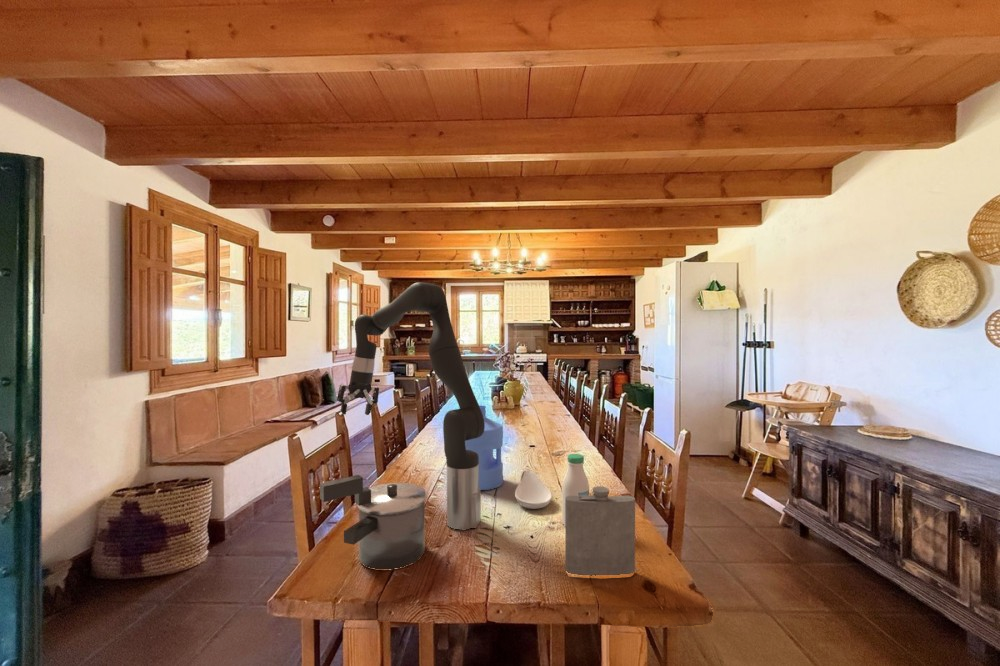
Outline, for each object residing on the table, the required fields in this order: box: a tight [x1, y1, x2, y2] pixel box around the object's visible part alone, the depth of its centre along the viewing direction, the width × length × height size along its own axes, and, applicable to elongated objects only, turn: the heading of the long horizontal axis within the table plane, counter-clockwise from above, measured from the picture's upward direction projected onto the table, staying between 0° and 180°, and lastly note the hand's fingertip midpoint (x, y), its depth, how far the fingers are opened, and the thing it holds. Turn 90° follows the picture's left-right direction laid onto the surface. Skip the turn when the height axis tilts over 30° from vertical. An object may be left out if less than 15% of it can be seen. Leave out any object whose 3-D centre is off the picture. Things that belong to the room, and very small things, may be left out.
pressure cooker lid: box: [319, 474, 427, 515], centre depth 106 cm, size 25×17×8 cm, turn 129°
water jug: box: [465, 405, 504, 491], centre depth 157 cm, size 16×16×28 cm
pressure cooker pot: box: [343, 502, 426, 569], centre depth 105 cm, size 24×16×13 cm, turn 159°
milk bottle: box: [561, 453, 590, 526], centre depth 124 cm, size 8×8×20 cm
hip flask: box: [564, 486, 636, 576], centre depth 99 cm, size 16×4×20 cm, turn 90°
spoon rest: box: [514, 470, 553, 510], centre depth 144 cm, size 24×12×7 cm, turn 5°
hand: (355, 414), depth 157 cm, fingers open, 8 cm apart
